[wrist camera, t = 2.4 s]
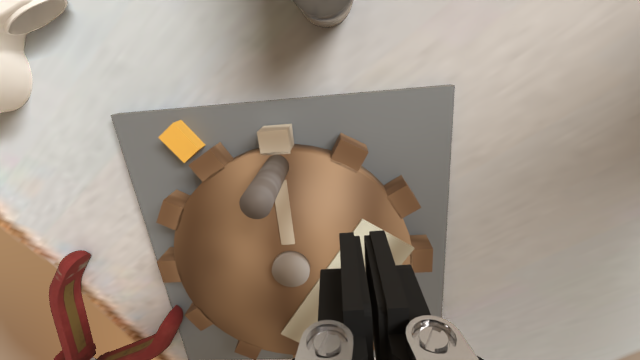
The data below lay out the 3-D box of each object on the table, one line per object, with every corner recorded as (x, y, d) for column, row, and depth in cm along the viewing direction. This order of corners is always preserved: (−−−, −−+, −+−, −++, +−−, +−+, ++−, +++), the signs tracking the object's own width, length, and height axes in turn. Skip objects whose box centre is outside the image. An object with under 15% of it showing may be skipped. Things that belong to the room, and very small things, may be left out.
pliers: (31, 370, 35) (6, 393, 32) (80, 239, 28) (52, 256, 25) (124, 421, 36) (106, 447, 33) (193, 307, 29) (177, 329, 26)
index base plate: (450, 84, 22) (461, 87, 20) (436, 348, 30) (443, 367, 28) (117, 113, 24) (99, 118, 22) (192, 353, 32) (183, 371, 30)
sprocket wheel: (429, 112, 21) (478, 141, 14) (422, 344, 29) (452, 445, 21) (136, 136, 23) (40, 172, 16) (200, 349, 30) (155, 444, 23)
